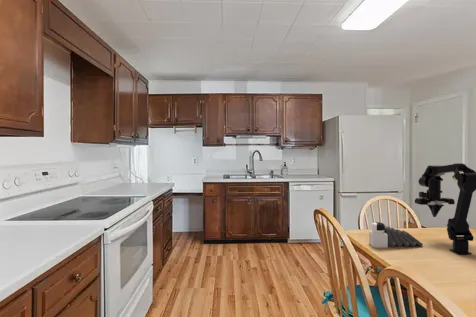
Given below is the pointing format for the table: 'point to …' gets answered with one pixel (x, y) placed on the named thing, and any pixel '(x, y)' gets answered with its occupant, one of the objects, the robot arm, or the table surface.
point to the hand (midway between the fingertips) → (434, 216)
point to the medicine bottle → (378, 236)
